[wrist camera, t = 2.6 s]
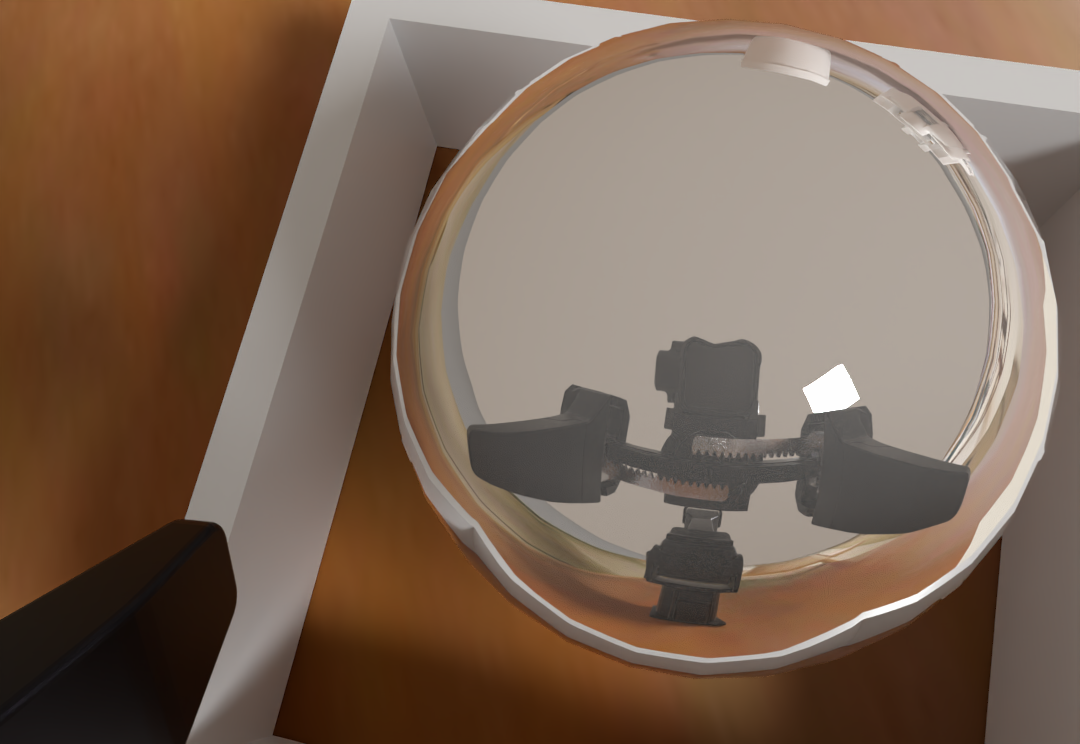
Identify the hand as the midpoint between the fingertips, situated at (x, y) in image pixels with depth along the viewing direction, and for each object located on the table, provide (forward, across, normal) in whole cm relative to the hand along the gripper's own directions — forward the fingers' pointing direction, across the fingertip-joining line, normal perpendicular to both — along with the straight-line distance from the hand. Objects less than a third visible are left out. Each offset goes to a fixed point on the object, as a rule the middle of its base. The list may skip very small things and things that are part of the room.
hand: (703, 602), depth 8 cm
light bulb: (+9, 0, +5) cm, 10 cm away
